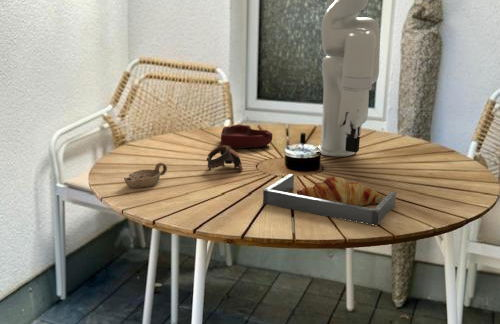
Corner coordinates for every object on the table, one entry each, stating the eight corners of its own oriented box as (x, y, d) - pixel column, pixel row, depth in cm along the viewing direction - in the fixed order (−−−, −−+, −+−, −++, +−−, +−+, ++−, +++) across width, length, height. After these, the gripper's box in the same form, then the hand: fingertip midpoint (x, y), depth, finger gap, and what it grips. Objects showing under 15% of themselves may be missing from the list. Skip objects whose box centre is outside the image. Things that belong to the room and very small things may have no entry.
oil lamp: (133, 193, 150) (132, 174, 149) (117, 186, 155) (116, 168, 154) (174, 182, 159) (174, 165, 157) (158, 176, 164) (158, 159, 163)
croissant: (378, 212, 149) (378, 181, 151) (388, 207, 139) (387, 174, 141) (294, 209, 149) (295, 178, 151) (298, 204, 139) (298, 171, 141)
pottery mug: (244, 177, 166) (230, 154, 162) (215, 189, 168) (201, 167, 164) (246, 155, 176) (233, 133, 172) (218, 167, 178) (205, 145, 175)
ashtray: (205, 144, 198) (204, 129, 197) (241, 136, 209) (241, 123, 208) (240, 155, 186) (240, 140, 184) (276, 147, 196) (277, 132, 195)
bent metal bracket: (289, 186, 157) (289, 173, 156) (394, 205, 144) (396, 192, 143) (263, 203, 144) (263, 189, 143) (376, 226, 131) (377, 211, 130)
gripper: (352, 75, 157) (348, 141, 164) (332, 86, 145) (328, 156, 151) (380, 79, 154) (374, 145, 160) (361, 89, 142) (356, 161, 148)
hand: (352, 150), depth 156 cm, fingers closed
